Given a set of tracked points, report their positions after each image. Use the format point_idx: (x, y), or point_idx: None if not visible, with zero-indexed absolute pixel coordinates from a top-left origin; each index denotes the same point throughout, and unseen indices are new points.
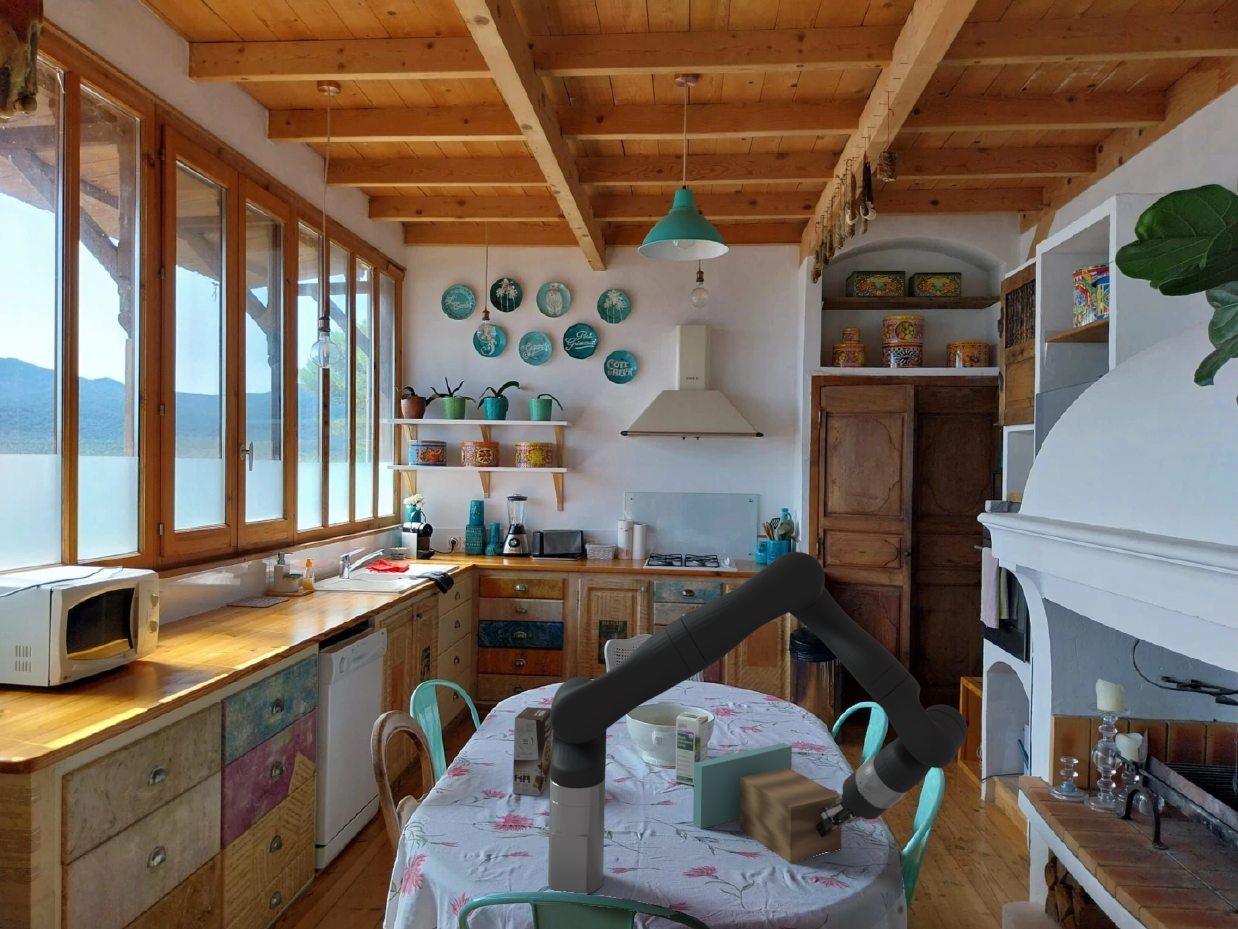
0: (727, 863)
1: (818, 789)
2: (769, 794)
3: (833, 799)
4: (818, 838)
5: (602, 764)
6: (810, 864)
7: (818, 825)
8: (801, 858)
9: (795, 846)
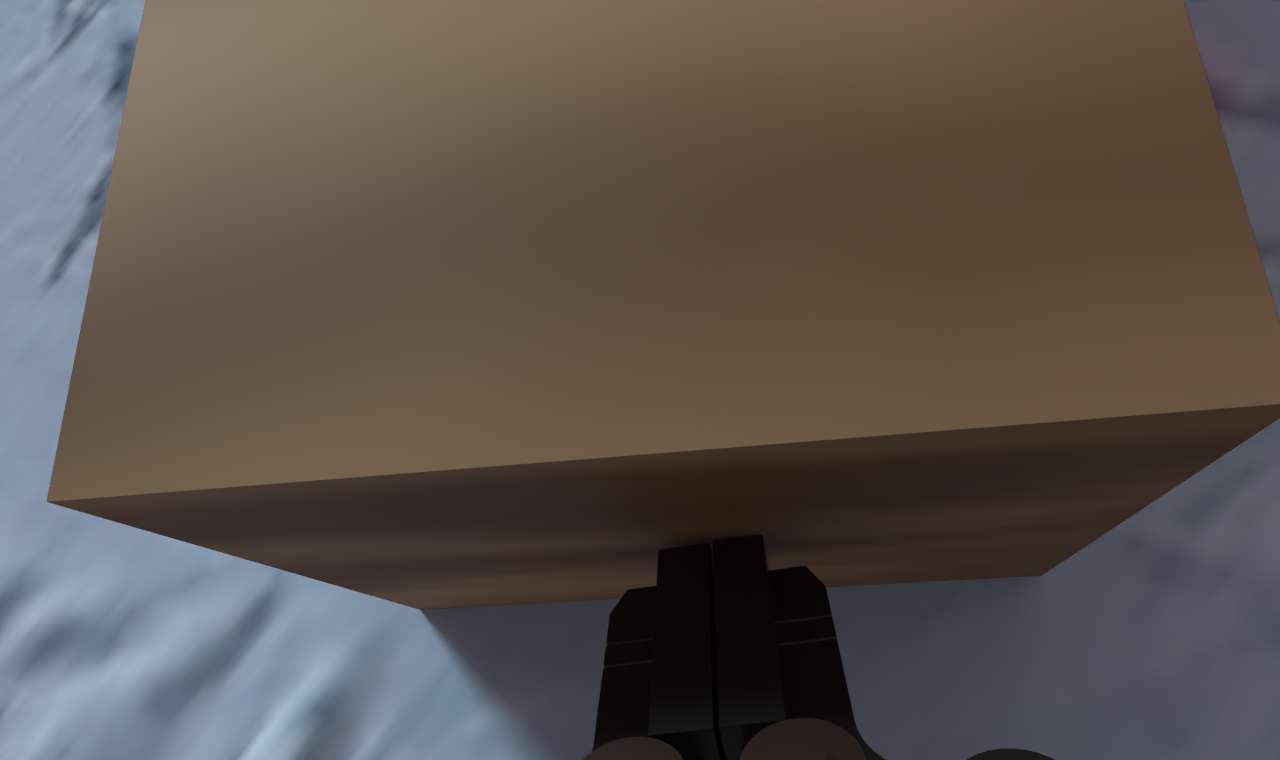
0: (31, 423)
1: (981, 50)
2: (139, 33)
3: (1041, 435)
4: None
5: None
6: (571, 695)
7: (607, 646)
8: (541, 598)
9: (419, 589)
